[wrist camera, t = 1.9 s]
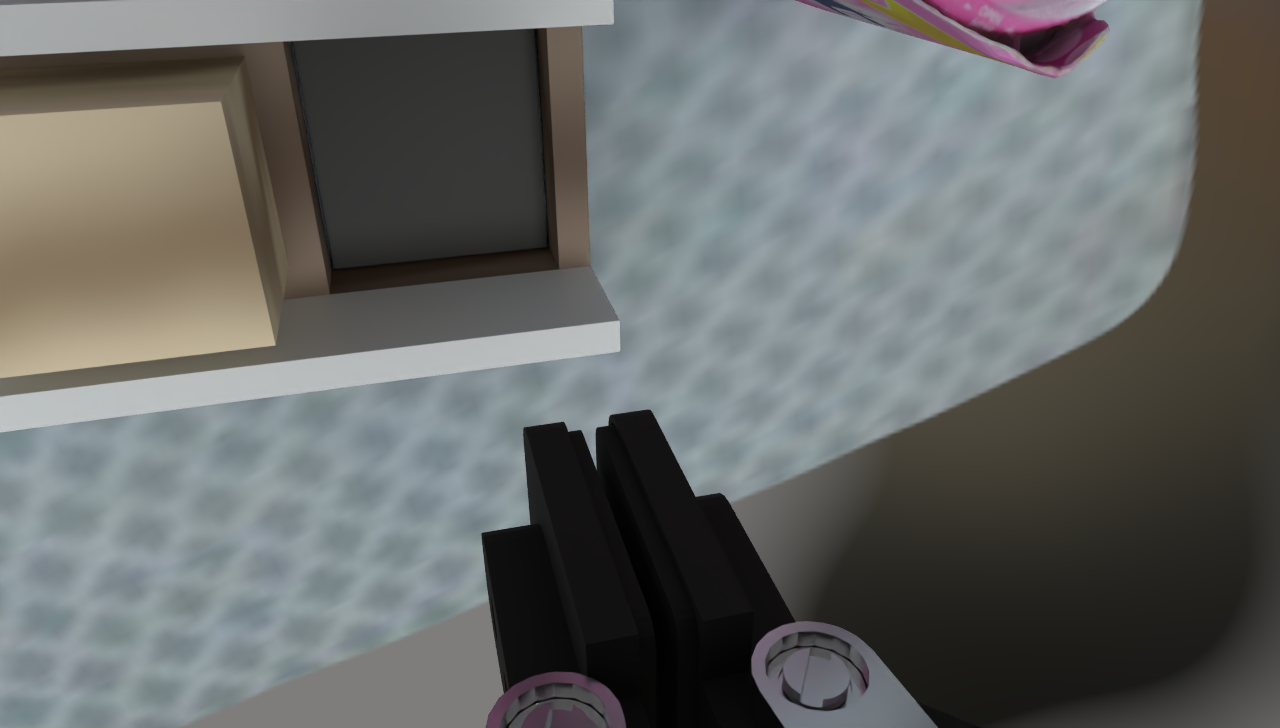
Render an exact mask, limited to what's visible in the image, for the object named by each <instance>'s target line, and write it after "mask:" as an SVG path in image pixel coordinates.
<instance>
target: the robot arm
mask: <svg viewBox="0 0 1280 728" xmlns="http://www.w3.org/2000/svg"><path fill="white" fill-rule="evenodd" d="M523 437H524V450H525V462H526V475H527V487H528V499H529V511H530V524H531V525H526V526H520V527H514V528H508V529H502V530H497V531H491V532H485V533H482V545H483V554H484V563H485V572H486V580H487V588H488V596H489V603H490V610H491V617H492V623H493V631H494V637H495V643H496V649H497V655H498V661H499V667H500V673H501V679H502V684H503V691H504V694H503V695H502V696H501V697H500V698H499V699H498V701H497V702H496V704H495V705H494V707H493V709H492V710H491V712H490V713H489V715H488V720H487V725H486V728H980V727H978V726H976V725H973V724H971V723H968V722H966V721H963V720H961V719H959V718H956V717H954V716H951V715H949V714H946V713H944V712H941V711H939V710H936V709H934V708H931V707H929V706H926V705H924V704H922V703H919V702H916V701H915V700H914V699H913V698H912V696H911V695H910V694H909V693H908V692H907V690H906V689H905V688H904V687H903V686H902V684H901V683H900V682H899V681H898V680H897V679H896V677H895V676H894V675H893V674H892V673H891V671H889V669H888V668H887V667H886V666H885V664H884V663H883V662H882V661H881V660H880V659H879V658H878V656H877V655H876V654H875V653H874V651H873V650H872V649H871V648H869V646H867V645H866V644H865V643H864V642H863V641H862V640H861V639H860V638H858V637H857V636H855V635H853V634H851V633H850V632H847V631H846V630H844V629H842V628H840V627H836V626H832V625H829V624H825V623H822V622H803V621H801V622H795V620H794V618H793V617H792V615H791V613H790V611H789V609H788V608H787V606H786V604H785V602H784V600H783V599H782V597H781V595H780V593H779V591H778V590H777V588H776V586H775V584H774V582H773V581H772V579H771V577H770V575H769V573H768V572H767V570H766V568H765V566H764V564H763V563H762V561H761V559H760V557H759V555H758V554H757V552H756V550H755V548H754V546H753V545H752V543H751V541H750V539H749V537H748V536H747V534H746V532H745V530H744V528H743V527H742V525H741V523H740V521H739V519H738V518H737V516H736V514H735V512H734V510H733V509H732V507H731V505H730V503H729V502H728V500H727V499H726V497H725V496H724V495H722V494H720V493H717V494H711V495H705V496H699V497H695V495H694V493H693V491H692V489H691V487H690V485H689V483H688V481H687V479H686V477H685V475H684V473H683V471H682V469H681V468H680V466H679V464H678V462H677V460H676V458H675V456H674V454H673V452H672V450H671V448H670V446H669V444H668V442H667V440H666V438H665V436H664V434H663V432H662V430H661V428H660V426H659V424H658V422H657V420H656V418H655V416H654V415H653V413H652V411H651V410H641V411H634V412H627V413H621V414H614V415H610V417H609V426H604V427H598V428H597V429H596V461H597V470H596V467H595V465H594V462H593V459H592V457H591V454H590V451H589V449H588V446H587V443H586V441H585V438H584V435H583V433H582V431H581V430H577V431H570V432H568V430H567V427H566V425H565V423H564V422H559V423H552V424H545V425H538V426H531V427H524V429H523Z"/></svg>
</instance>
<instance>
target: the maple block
mask: <svg viewBox="0 0 1280 728" xmlns="http://www.w3.org/2000/svg"><path fill="white" fill-rule="evenodd" d="M288 269H289V266H288V262H287V257H286V252H285V247H284V242H283V237H282V233H281V228H280V223H279V218H278V213H277V209H276V204H275V199H274V194H273V189H272V184H271V180H270V175H269V170H268V165H267V160H266V156H265V151H264V146H263V141H262V136H261V131H260V127H259V122H258V117H257V112H256V107H255V103H254V98H253V93H252V88H251V83H250V79H249V74H248V69H247V64H246V59H245V56H238V57H220V58H202V59H184V60H166V61H147V62H129V63H111V64H93V65H75V66H57V67H39V68H20V69H2V70H0V378H7V377H15V376H23V375H32V374H40V373H49V372H57V371H65V370H74V369H82V368H91V367H99V366H107V365H116V364H124V363H132V362H141V361H149V360H158V359H166V358H174V357H183V356H191V355H200V354H208V353H216V352H225V351H233V350H242V349H250V348H258V347H267V346H275V345H276V341H277V335H278V329H279V323H280V317H281V311H282V305H283V299H284V293H285V287H286V281H287V275H288Z"/></svg>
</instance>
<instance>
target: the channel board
mask: <svg viewBox="0 0 1280 728" xmlns="http://www.w3.org/2000/svg"><path fill="white" fill-rule="evenodd" d="M608 24H614V5H613V0H0V70H2V69H20V68H39V67H57V66H75V65H93V64H111V63H129V62H147V61H166V60H184V59H202V58H220V57H238V56H245V59H246V64H247V69H248V74H249V79H250V83H251V88H252V93H253V98H254V103H255V107H256V112H257V117H258V122H259V127H260V131H261V136H262V141H263V146H264V151H265V156H266V160H267V165H268V170H269V175H270V180H271V184H272V189H273V194H274V199H275V204H276V209H277V213H278V218H279V223H280V228H281V233H282V237H283V242H284V247H285V252H286V257H287V262H288V266H289V269H288V275H287V281H286V287H285V293H284V299H283V305H282V311H281V317H280V323H279V329H278V335H277V341H276V345H275V346H267V347H258V348H250V349H242V350H233V351H225V352H216V353H208V354H200V355H191V356H183V357H174V358H166V359H158V360H149V361H141V362H132V363H124V364H116V365H107V366H99V367H91V368H82V369H74V370H65V371H57V372H49V373H40V374H32V375H23V376H15V377H7V378H0V432H7V431H14V430H22V429H30V428H37V427H45V426H53V425H60V424H68V423H76V422H83V421H91V420H99V419H106V418H114V417H122V416H129V415H137V414H145V413H152V412H160V411H168V410H175V409H183V408H191V407H198V406H206V405H214V404H221V403H229V402H237V401H244V400H252V399H260V398H267V397H275V396H283V395H290V394H298V393H306V392H313V391H321V390H329V389H336V388H344V387H352V386H359V385H367V384H375V383H382V382H390V381H398V380H405V379H413V378H421V377H428V376H436V375H444V374H451V373H459V372H467V371H474V370H482V369H490V368H497V367H505V366H513V365H520V364H528V363H536V362H543V361H551V360H559V359H566V358H574V357H582V356H589V355H597V354H605V353H612V352H620V320H619V318H618V317H617V315H616V313H615V311H614V309H613V307H612V305H611V304H610V302H609V300H608V298H607V296H606V294H605V292H604V291H603V289H602V287H601V285H600V283H599V281H598V279H597V277H596V276H595V274H594V272H593V270H592V268H591V266H590V243H589V215H588V186H587V158H586V130H585V102H584V74H583V46H582V26H589V25H608ZM534 28H536V38H537V55H538V72H539V89H540V106H541V123H542V140H543V157H544V174H545V191H546V208H547V225H548V242H549V246H547V237H546V220H545V203H544V186H543V170H542V153H541V136H540V119H539V102H538V85H537V69H536V52H535V35H534ZM290 41H293V45H294V51H295V56H296V62H297V67H298V73H299V78H300V84H301V89H302V95H303V100H304V106H305V111H306V117H307V122H308V128H309V133H310V139H311V144H312V150H313V155H314V161H315V166H316V172H317V177H318V183H319V188H320V194H321V199H322V205H323V210H324V216H325V221H326V227H327V232H328V238H329V243H330V249H331V254H332V260H333V265H334V268H333V269H332V268H331V262H330V257H329V251H328V246H327V240H326V235H325V230H324V224H323V219H322V213H321V208H320V202H319V197H318V191H317V186H316V180H315V175H314V170H313V164H312V159H311V153H310V148H309V142H308V137H307V131H306V126H305V120H304V115H303V110H302V104H301V99H300V93H299V88H298V82H297V77H296V71H295V66H294V60H293V55H292V50H291V44H290Z"/></svg>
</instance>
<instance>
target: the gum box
mask: <svg viewBox="0 0 1280 728" xmlns="http://www.w3.org/2000/svg"><path fill="white" fill-rule="evenodd" d="M796 1H799V2H802V3H805V4H808V5H810V6H813V7H816V8H820V9H823V10H826V11H830V12H833V13H836V14H840V15H843V16H846V17H850V18H853V19H856V20H860V21H863V22H866V23H870V24H873V25H876V26H880V27H883V28H887V29H890V30H893V31H897V32H900V33H903V34H907V35H910V36H914V37H917V38H921V39H924V40H928V41H931V42H935V43H938V44H942V45H945V46H949V47H952V48H956V49H959V50H962V51H966V52H969V53H973V54H976V55H980V56H983V57H986V58H990V59H993V60H996V61H1000V62H1003V63H1007V64H1010V65H1013V66H1016V67H1019V68H1022V69H1025V70H1028V71H1031V72H1034V73H1037V74H1040V75H1044V76H1048V77H1052V78H1057V77H1061V76H1064V75H1066V74H1068V73H1069V72H1070V71H1071V70H1073V69H1074V68H1075V67H1076V66H1077V65H1078V64H1079V63H1080V62H1082V61H1083V60H1084V59H1085V58H1086V57H1087V56H1088V55H1089V54H1090V53H1092V52H1093V51H1094V50H1095V49H1096V48H1097V47H1098V46H1099V45H1100V43H1101V42H1102V41H1103V40H1104V39H1105V38H1106V36H1107V34H1108V32H1109V31H1110V29H1109V25H1108V24H1107V23H1106V22H1105V21H1102V20H1096V19H1095V17H1094V14H1093V12H1094V10H1095V9H1096V8H1097V7H1098V6H1099V5H1101V4H1102V3H1104V2H1105V1H1107V0H796Z"/></svg>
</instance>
